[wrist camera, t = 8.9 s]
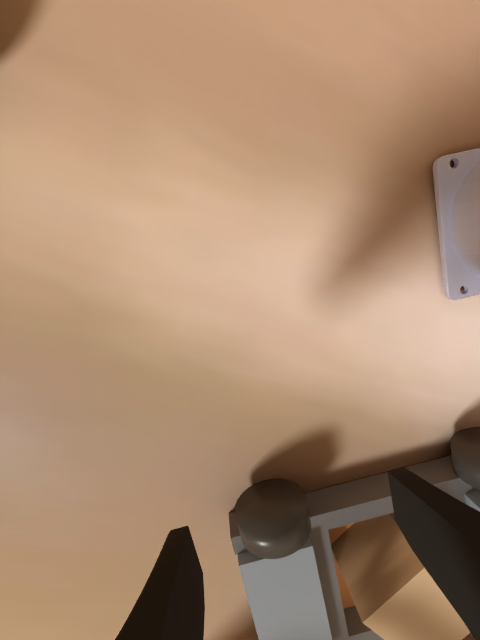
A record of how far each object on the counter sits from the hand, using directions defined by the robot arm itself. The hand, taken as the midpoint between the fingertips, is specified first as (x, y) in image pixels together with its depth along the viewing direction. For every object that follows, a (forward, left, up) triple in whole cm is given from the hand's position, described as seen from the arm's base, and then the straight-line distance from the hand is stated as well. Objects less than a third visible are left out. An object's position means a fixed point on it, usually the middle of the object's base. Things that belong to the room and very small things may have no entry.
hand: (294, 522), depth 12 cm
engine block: (-6, +12, -9) cm, 16 cm away
